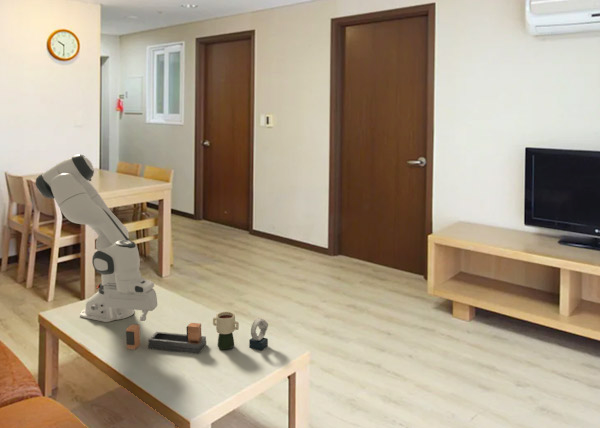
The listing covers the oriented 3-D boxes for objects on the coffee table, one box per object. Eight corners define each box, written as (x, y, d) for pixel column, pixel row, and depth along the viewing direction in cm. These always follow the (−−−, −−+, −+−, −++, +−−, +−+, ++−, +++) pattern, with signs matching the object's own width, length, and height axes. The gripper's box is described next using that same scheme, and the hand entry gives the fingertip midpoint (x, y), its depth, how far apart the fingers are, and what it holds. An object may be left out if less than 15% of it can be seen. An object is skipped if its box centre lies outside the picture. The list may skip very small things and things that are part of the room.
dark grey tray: (148, 348, 191) (147, 325, 189) (157, 339, 199) (156, 316, 197) (198, 354, 188) (198, 330, 186) (206, 344, 196) (205, 321, 194)
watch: (270, 344, 197) (270, 317, 195) (259, 352, 190) (259, 325, 188) (258, 340, 199) (258, 314, 197) (246, 349, 192) (246, 322, 190)
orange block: (132, 343, 195) (131, 324, 193) (140, 344, 194) (139, 325, 193) (126, 349, 191) (125, 329, 189) (134, 350, 190) (133, 330, 188)
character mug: (243, 345, 195) (242, 314, 192) (233, 353, 189) (233, 321, 186) (218, 340, 199) (217, 309, 196) (208, 348, 192) (207, 316, 190)
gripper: (98, 285, 186) (101, 320, 189) (149, 288, 182) (152, 324, 185) (108, 279, 192) (111, 313, 195) (158, 282, 188) (160, 318, 191)
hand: (131, 319), depth 190 cm, fingers open, 8 cm apart
